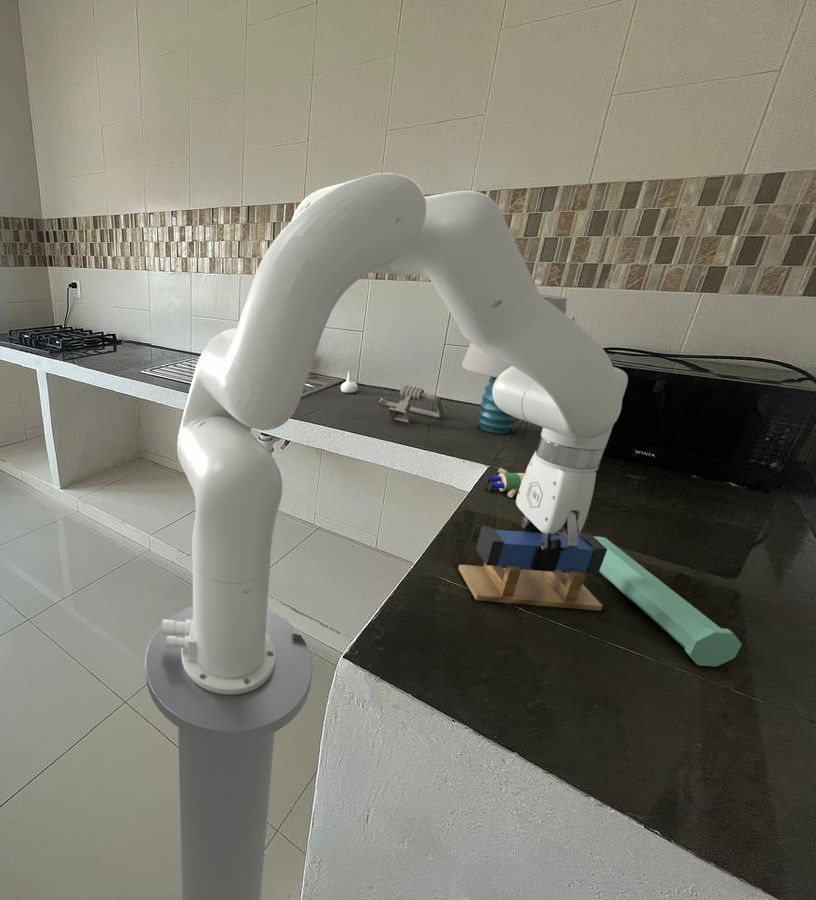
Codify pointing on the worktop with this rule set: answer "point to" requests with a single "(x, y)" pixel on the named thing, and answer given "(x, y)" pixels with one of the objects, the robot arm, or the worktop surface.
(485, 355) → the lamp
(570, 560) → the handle
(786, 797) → the worktop surface
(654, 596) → the mint octagonal rod
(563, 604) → the holder
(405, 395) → the toilet paper hanger
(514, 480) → the toy figurine
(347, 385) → the garlic bulb
